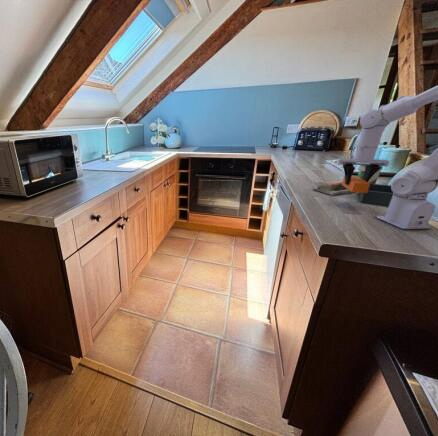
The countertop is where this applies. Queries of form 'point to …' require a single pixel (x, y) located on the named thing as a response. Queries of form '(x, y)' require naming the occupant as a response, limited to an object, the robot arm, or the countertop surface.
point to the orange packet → (357, 185)
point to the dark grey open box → (377, 195)
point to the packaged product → (332, 187)
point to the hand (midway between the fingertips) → (355, 184)
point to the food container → (373, 178)
